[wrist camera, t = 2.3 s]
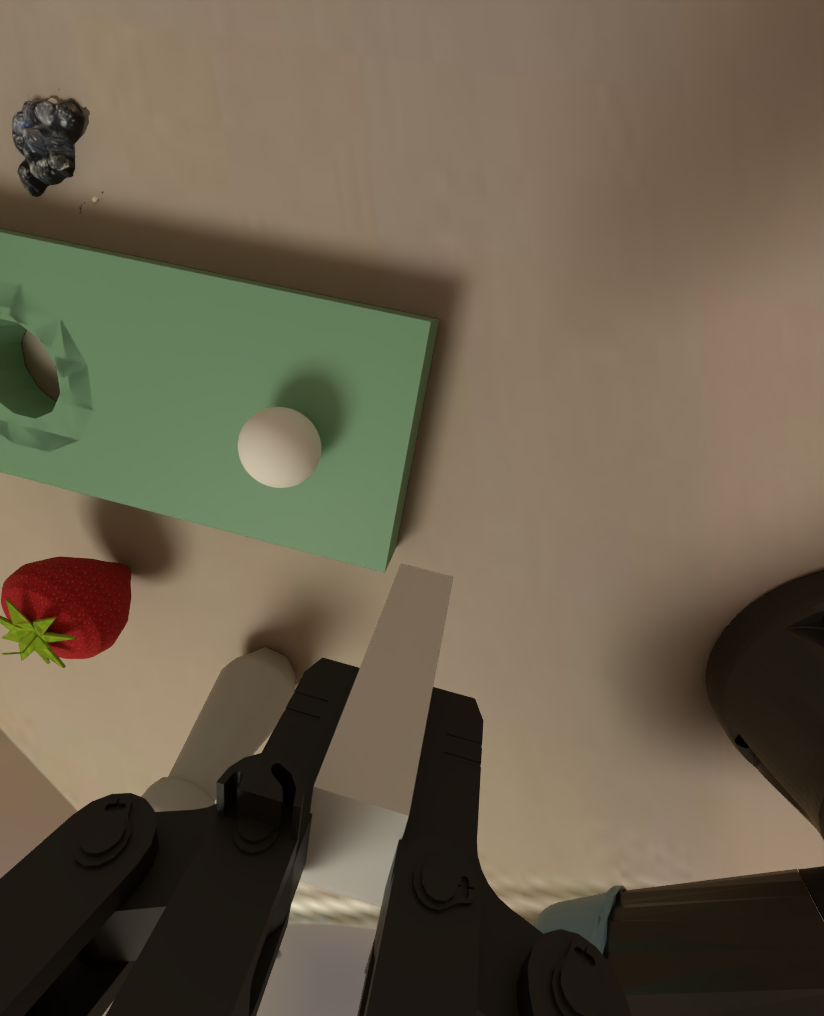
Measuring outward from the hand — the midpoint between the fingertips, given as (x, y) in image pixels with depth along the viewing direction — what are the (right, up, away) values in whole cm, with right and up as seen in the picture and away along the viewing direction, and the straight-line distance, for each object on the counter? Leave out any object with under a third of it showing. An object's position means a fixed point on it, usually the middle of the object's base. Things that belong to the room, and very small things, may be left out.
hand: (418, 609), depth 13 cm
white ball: (-7, +6, +10) cm, 13 cm away
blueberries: (-19, +22, +12) cm, 31 cm away
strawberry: (-22, -1, +22) cm, 31 cm away
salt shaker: (-11, -10, +23) cm, 28 cm away
